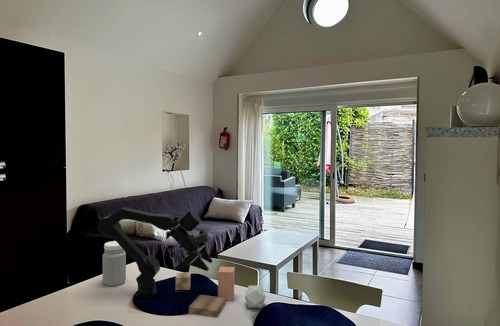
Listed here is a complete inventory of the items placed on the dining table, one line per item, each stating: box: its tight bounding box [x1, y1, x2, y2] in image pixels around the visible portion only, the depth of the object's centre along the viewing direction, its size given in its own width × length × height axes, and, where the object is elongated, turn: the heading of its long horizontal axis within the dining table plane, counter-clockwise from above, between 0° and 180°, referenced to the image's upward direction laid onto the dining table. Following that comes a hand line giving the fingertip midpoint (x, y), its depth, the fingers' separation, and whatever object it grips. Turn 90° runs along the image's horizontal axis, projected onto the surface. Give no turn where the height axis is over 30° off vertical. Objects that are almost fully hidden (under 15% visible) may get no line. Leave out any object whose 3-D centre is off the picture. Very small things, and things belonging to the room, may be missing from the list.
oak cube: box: [175, 271, 191, 290], centre depth 154 cm, size 6×6×6 cm
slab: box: [188, 294, 227, 318], centre depth 135 cm, size 11×11×3 cm
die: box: [244, 285, 266, 309], centre depth 138 cm, size 8×9×10 cm
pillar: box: [217, 266, 236, 302], centre depth 145 cm, size 6×6×12 cm
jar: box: [102, 240, 127, 287], centre depth 158 cm, size 10×10×18 cm
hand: (210, 266), depth 145 cm, fingers open, 9 cm apart
